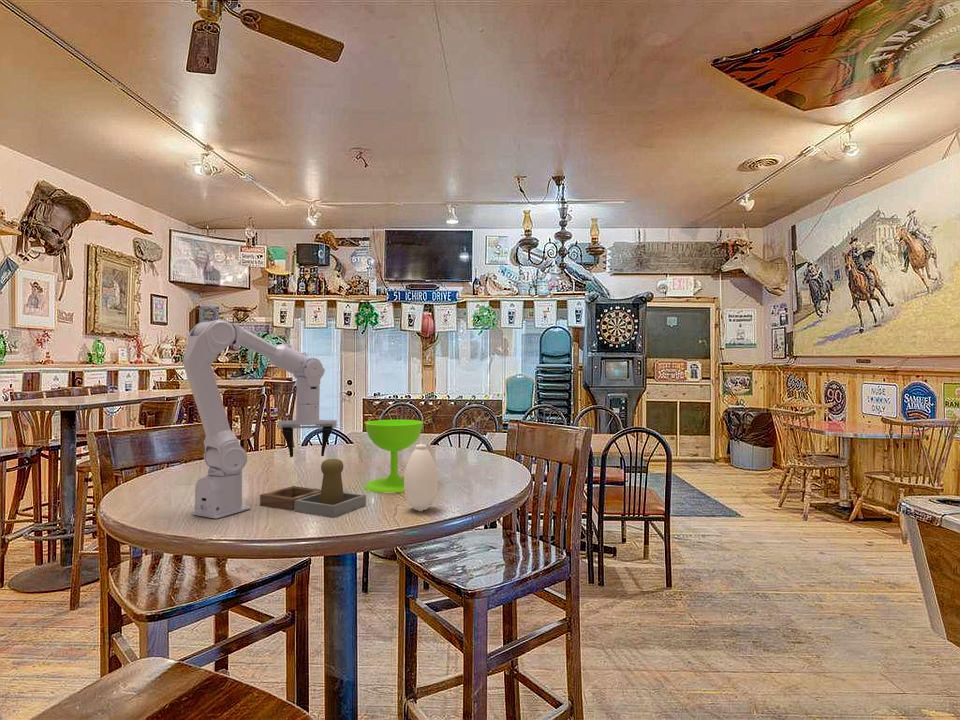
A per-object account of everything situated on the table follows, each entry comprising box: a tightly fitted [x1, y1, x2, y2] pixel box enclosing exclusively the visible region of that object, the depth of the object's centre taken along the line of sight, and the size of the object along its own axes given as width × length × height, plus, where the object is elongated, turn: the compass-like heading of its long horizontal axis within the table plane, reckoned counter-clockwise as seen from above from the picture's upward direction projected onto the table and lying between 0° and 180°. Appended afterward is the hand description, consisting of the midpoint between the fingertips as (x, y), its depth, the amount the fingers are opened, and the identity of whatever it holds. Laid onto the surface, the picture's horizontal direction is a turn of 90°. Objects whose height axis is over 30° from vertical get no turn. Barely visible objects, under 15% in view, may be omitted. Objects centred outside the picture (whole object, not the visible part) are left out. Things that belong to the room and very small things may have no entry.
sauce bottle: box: [403, 433, 439, 512], centre depth 126 cm, size 8×8×18 cm
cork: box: [319, 458, 344, 505], centre depth 128 cm, size 6×6×11 cm
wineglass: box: [364, 419, 424, 493], centre depth 150 cm, size 16×16×18 cm
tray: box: [293, 491, 367, 518], centre depth 127 cm, size 12×12×2 cm
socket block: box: [259, 485, 321, 511], centre depth 132 cm, size 11×11×2 cm
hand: (307, 456), depth 139 cm, fingers open, 7 cm apart
